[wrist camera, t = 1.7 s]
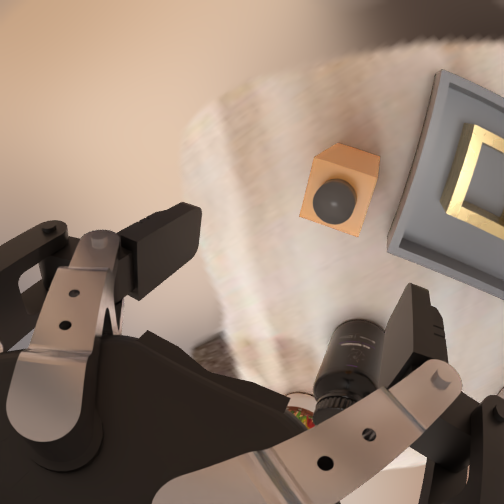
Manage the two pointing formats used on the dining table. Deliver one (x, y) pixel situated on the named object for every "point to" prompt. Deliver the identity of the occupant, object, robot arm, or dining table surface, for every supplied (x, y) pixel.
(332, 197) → the block
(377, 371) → the supplement bottle
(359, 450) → the robot arm
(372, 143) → the dining table surface
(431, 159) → the walled box
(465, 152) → the inlet
